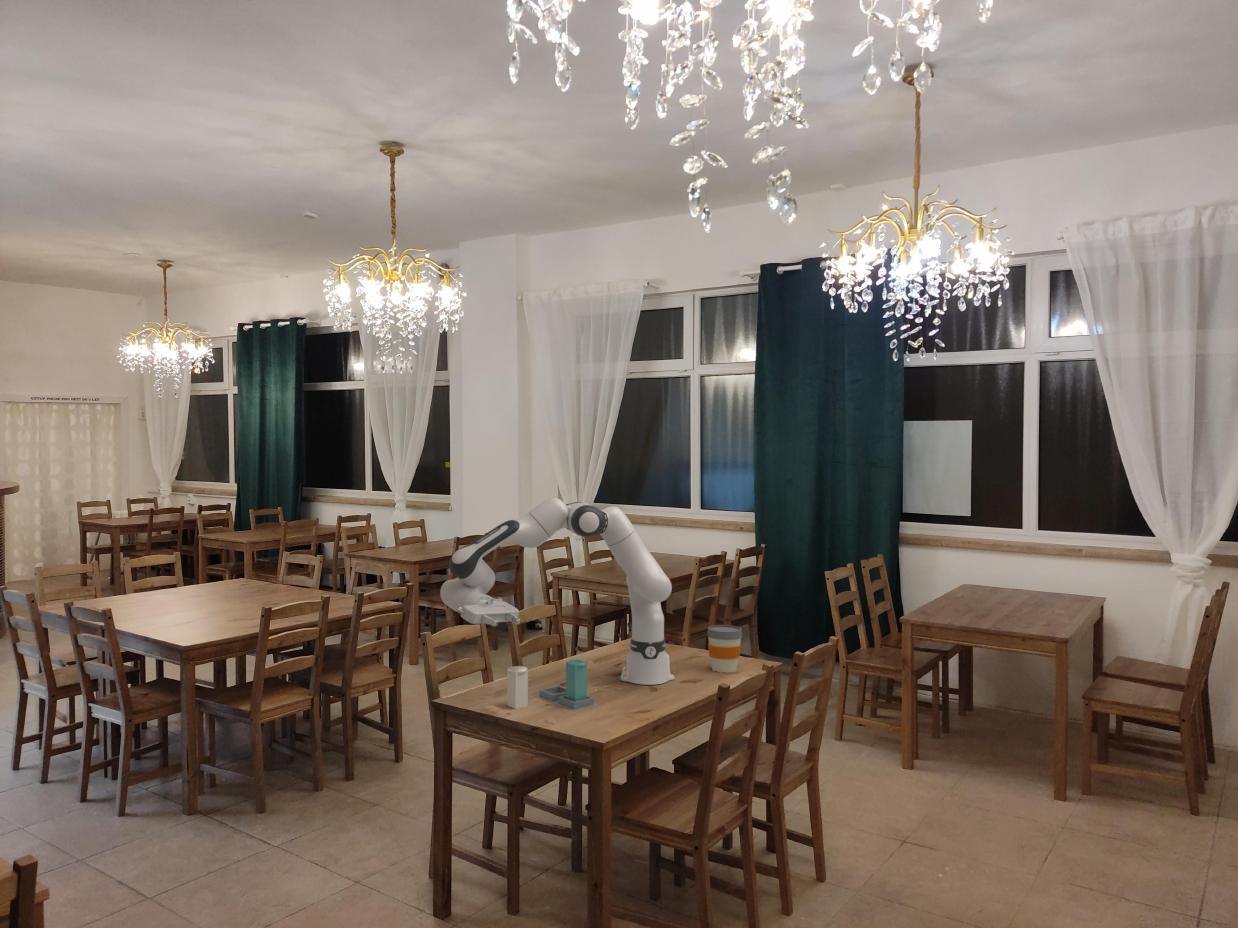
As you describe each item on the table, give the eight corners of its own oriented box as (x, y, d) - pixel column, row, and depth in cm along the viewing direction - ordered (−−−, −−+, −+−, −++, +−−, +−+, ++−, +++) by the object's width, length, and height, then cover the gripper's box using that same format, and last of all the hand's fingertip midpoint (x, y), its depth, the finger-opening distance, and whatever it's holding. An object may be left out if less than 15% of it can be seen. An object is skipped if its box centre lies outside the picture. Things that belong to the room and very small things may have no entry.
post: (504, 710, 268) (504, 667, 268) (519, 706, 272) (519, 665, 272) (515, 714, 264) (515, 671, 264) (530, 710, 268) (530, 668, 268)
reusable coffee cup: (743, 666, 323) (744, 625, 323) (739, 675, 311) (740, 632, 311) (709, 663, 326) (710, 623, 326) (704, 672, 314) (704, 630, 314)
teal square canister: (563, 703, 271) (563, 661, 270) (577, 699, 275) (577, 658, 274) (574, 707, 267) (575, 665, 266) (589, 704, 270) (589, 662, 270)
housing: (534, 700, 279) (534, 689, 278) (559, 694, 285) (559, 684, 285) (573, 715, 264) (573, 704, 263) (599, 709, 270) (599, 697, 270)
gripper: (455, 598, 271) (485, 614, 262) (503, 596, 287) (532, 612, 278) (450, 617, 271) (479, 634, 263) (498, 615, 287) (527, 630, 279)
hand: (507, 622), depth 271 cm, fingers open, 8 cm apart
